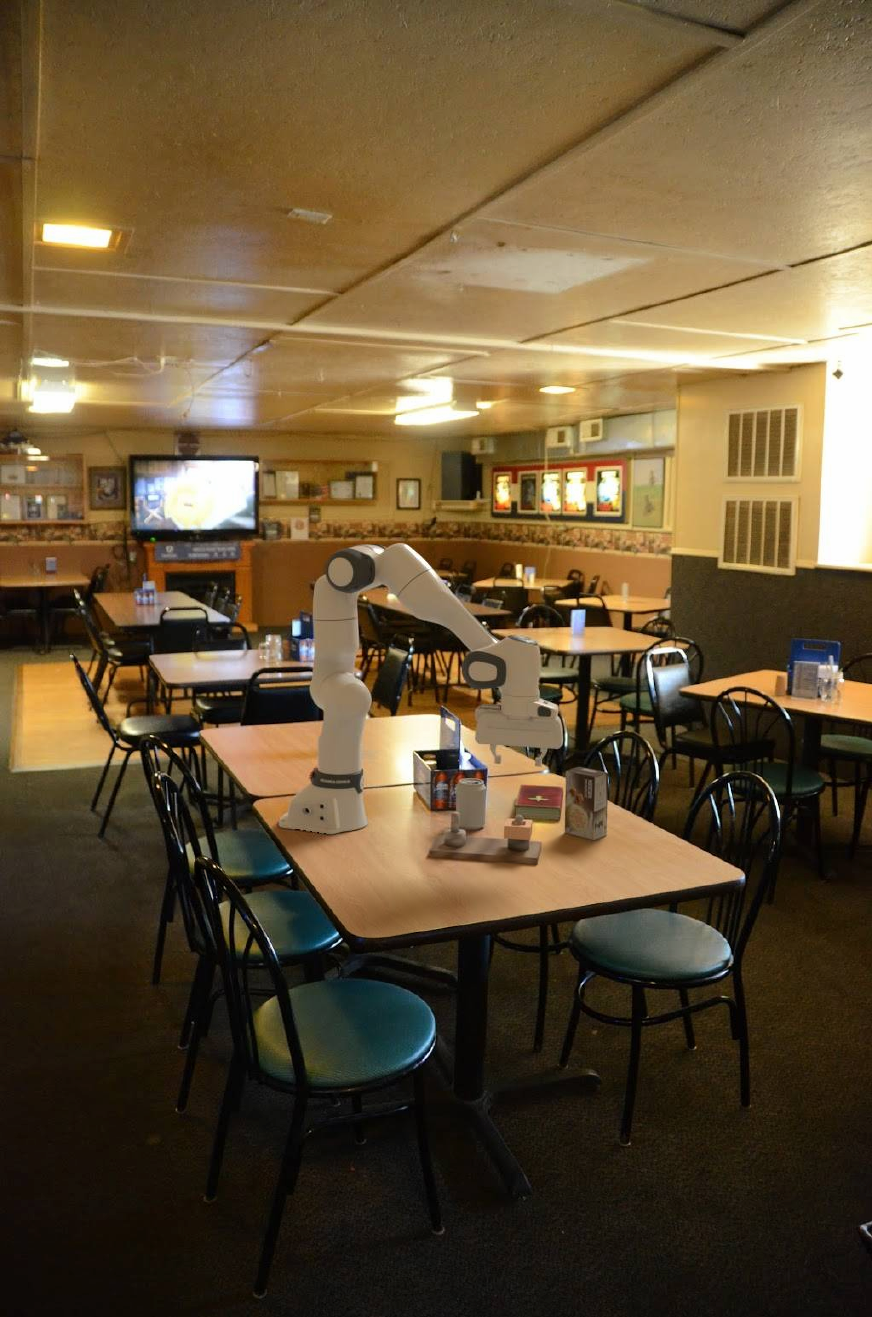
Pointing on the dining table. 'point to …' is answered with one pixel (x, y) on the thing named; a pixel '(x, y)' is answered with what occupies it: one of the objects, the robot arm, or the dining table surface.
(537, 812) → the hardcover book
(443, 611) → the robot arm
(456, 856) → the stand board
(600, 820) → the coffee box
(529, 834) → the collar
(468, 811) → the can
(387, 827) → the dining table surface
